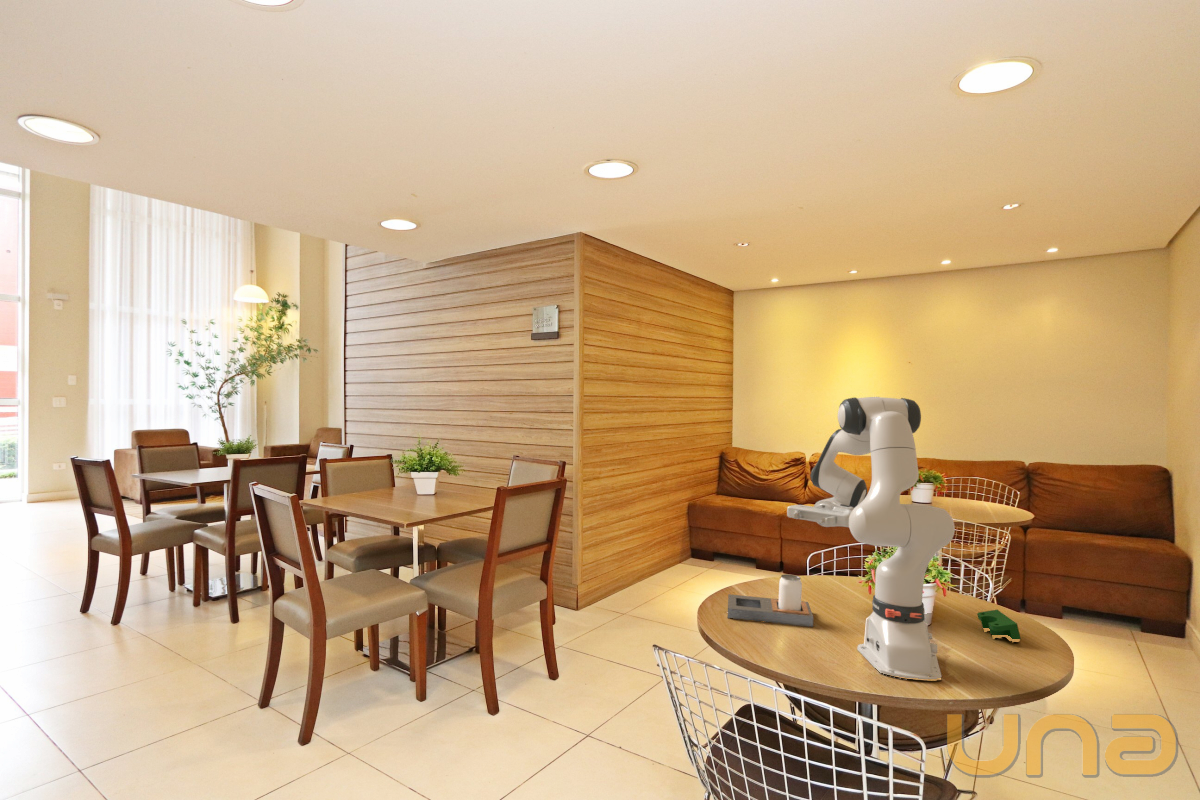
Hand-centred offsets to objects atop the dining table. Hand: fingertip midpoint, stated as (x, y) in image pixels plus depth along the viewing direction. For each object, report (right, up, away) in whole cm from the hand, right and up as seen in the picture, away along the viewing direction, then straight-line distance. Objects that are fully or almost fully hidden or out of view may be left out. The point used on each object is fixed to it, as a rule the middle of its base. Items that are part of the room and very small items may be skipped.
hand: (809, 518), depth 194 cm
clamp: (+47, -30, -19) cm, 59 cm away
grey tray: (-15, -28, -7) cm, 32 cm away
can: (-9, -28, -8) cm, 31 cm away
